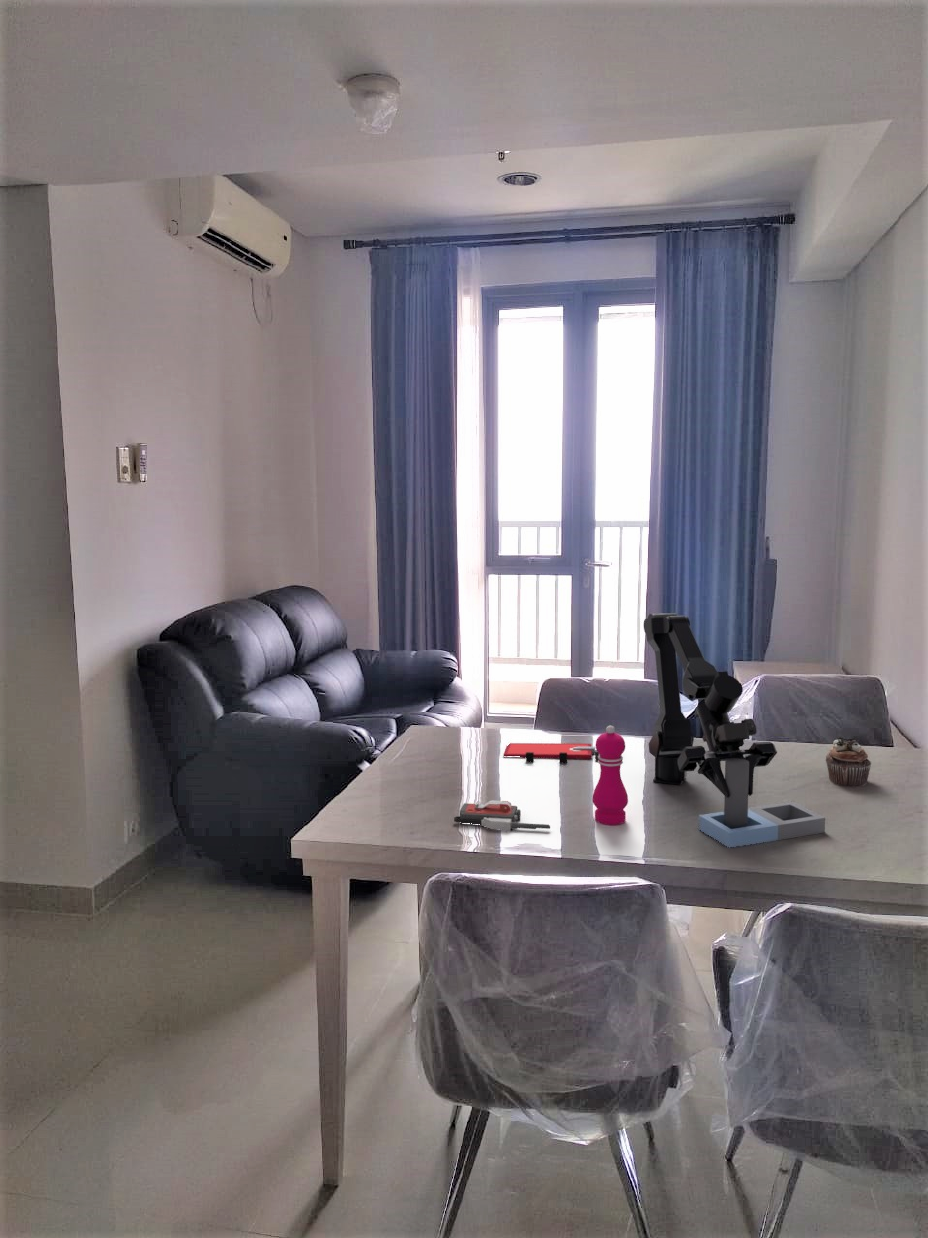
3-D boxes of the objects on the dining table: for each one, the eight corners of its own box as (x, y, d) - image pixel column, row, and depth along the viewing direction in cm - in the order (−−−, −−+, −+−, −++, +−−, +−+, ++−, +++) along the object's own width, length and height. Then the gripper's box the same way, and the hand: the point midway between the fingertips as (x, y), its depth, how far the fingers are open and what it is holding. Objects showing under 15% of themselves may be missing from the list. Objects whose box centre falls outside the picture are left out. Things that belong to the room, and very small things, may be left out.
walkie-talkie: (451, 830, 177) (549, 835, 173) (451, 809, 176) (549, 814, 172) (460, 814, 185) (553, 819, 182) (459, 795, 185) (553, 799, 181)
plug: (719, 831, 170) (721, 761, 168) (730, 824, 173) (732, 756, 171) (740, 836, 167) (742, 766, 165) (751, 830, 170) (753, 761, 168)
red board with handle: (621, 765, 217) (619, 749, 231) (621, 754, 216) (619, 738, 231) (502, 763, 221) (507, 748, 236) (501, 753, 221) (507, 738, 235)
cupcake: (875, 789, 195) (877, 745, 194) (829, 787, 197) (831, 744, 196) (864, 775, 204) (866, 734, 203) (821, 773, 206) (822, 732, 205)
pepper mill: (630, 815, 182) (630, 722, 179) (625, 828, 175) (625, 731, 172) (596, 812, 184) (596, 720, 181) (589, 824, 177) (589, 729, 175)
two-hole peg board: (728, 848, 164) (729, 833, 163) (698, 829, 173) (699, 815, 173) (824, 832, 171) (825, 817, 170) (790, 815, 180) (791, 801, 180)
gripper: (683, 707, 169) (706, 779, 160) (774, 702, 172) (801, 773, 162) (668, 735, 178) (688, 806, 169) (754, 730, 181) (778, 799, 171)
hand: (739, 795), depth 168 cm, fingers closed on plug, 4 cm apart
